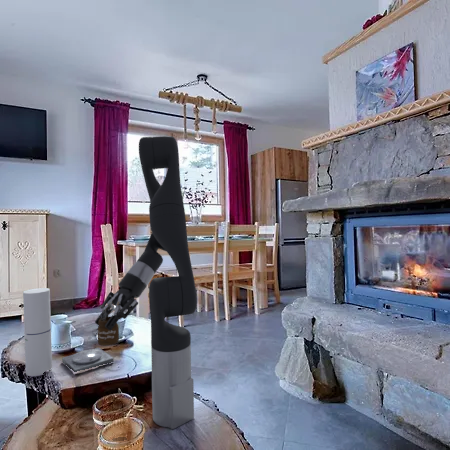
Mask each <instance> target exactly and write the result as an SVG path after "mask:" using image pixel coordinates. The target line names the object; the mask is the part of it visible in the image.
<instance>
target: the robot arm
mask: <svg viewBox="0 0 450 450" xmlns="http://www.w3.org/2000/svg"><path fill="white" fill-rule="evenodd" d="M179 155H180V154H179V147H178V142H177V140H176V138H175V137H174V136H172V135H153V136H143V137H141V138H140V139H139V142H138V156H139V162H140V166H141V170H142V174H143V180H144V183H145V187H146V190H147V194H148V198H149V201H150V203H149V207H148V211H149V215H148V216H149V228H150V231H151V234H150V236H149V238H148V241H147V244H146V245H145V249H143V250H144V251H143V253H142V254H141V255H140V256H139V258H138V259H137V260H136V262H135V263H134V264H133V265H132V266H131V267H130V268H129V269H128V271H127V272H126V273H125V275H124V276H123V278H122V279H121V280H120V281H119V283H118V287H119V289H118V290H117V291H116V292H115V293H114V292H112V291H110V292H108V294H107V296H106V298H105V299H104V300H103V303H102V304H101V305H102V307H101V306H100V310H101V313H99V314H98V315H99V316H98V317H97V318H96V319H95V321H94V323H95V324H96V325H97V326H99V324H98V322H99V319H101V316H102V318H104V316H106V317H109V315H110V314H111V313H113V314H112V315H111V316H110V317H111V318H110V319H109V320H108V322H107V323H106V325H105V327H106V328H107V329H108V330H112V328H113V327H114V325H115V324H116V323H117V324H118V322H119V320H122V319H124V320H125V319H126V318H128V317H129V315H130V314H131V313H132V312H133V310H134V309H135V308H136V307H137V306H138V305H139V301H138V300H136V299H139V298H140V297H141V295H142V294H143V292H144V291H145V290H146V288H147V287H148V286H149V288H148V301H149V313H150V314H149V315H150V338H151V340H150V344H151V346H150V347H151V351H150V352H151V395H152V396H151V397H152V398H151V401H152V404H151V405H152V420H153V422H154V423H155V424H156V425H158V426H160V427H163V428H169V429H171V430H175V429H177V428H178V427H180V426H182V425H184V424H185V423H188V422H190V421H191V420H193V419H194V418H195V399H194V398H195V395H194V391H195V390H194V386H195V385H194V379H193V377H192V347H191V346H192V344H191V343H192V341H191V340H192V339H191V337H192V336H191V332H190V331H189V330H188V329H187V328H185V327H183V326H179V325H175V324H173V323H169V322H168V321H167V320H166V318H171V317H172V318H174V317H180V316H188V315H193V314H194V313H195V311H196V310H197V305H198V304H197V303H198V301H197V300H198V298H197V288H196V284H195V283H196V282H195V277H194V272H193V266H192V263H191V257H190V251H189V250H190V249H189V242H188V241H189V239H188V230H187V220H186V219H187V218H186V211H185V210H186V209H185V205H184V197H183V191H182V185H181V184H182V183H181V175H180V174H181V170H180V169H181V168H180V156H179ZM159 169H167V171H166V174H165V177H164V180H163V182H162V183H161V184H160V182H159V181H158V180H157V177H156V176H155V173H154V170H159ZM158 250H161V251H164V252H166V253H167V254H168V255H169V257H170V258H171V260H172V262H173V263H174V267H175V268H176V272H177V275H176V276H175V275H174V276H173V275H172V276H161V277H155V278H153V277H154V276H155V274H156V273H157V271H158V269H160V267H161V265H162V264H163V261H164V258H163V257H162V255H161V254H160V253H159V252H158ZM118 302H119V303H118ZM117 303H118V305H117ZM103 306H104V307H105V308H104V307H103ZM102 310H103V311H104V312H103V311H102ZM105 310H106V311H105ZM105 312H106V313H105ZM103 315H104V316H103ZM99 317H100V318H99Z"/></svg>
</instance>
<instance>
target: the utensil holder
mask: <svg viewBox="0 0 450 450" xmlns="http://www.w3.org/2000/svg"><path fill="white" fill-rule="evenodd" d="M118 303H119V302H118ZM118 303H117V305H118ZM101 307H102V304H100V308H101ZM103 307H104V306H103ZM104 308H105V307H104ZM98 309H99V308H97V313H99V314H97V315H98V317H99V315H100V314H101V313H102V311H103V310H102V309H101V310H99V311H98ZM105 311H106V310H105ZM103 312H104V311H103ZM105 313H106V312H105ZM103 316H104V315H103ZM99 318H100V317H99ZM110 318H111V316H108V317H106V316H104V318H102V316H101V319H99V322H98V324H99V325H97V326H98V327H97V343H98V345H99V346H102V347H108V346H113V345H115V344H117V343H119V341H120V331H119V330H120V328H119V327H120V326H119V324H118V322H117V323H116V324H115V325H114V327H113V328H112V330H108V329H107V328H106V327H105V325H106V323H107V322H108V320H109V319H110Z"/></svg>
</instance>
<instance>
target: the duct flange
mask: <svg viewBox="0 0 450 450" xmlns="http://www.w3.org/2000/svg"><path fill="white" fill-rule="evenodd" d="M61 359H62V360H61V363H62V362H63V363H64V364H65V365H67V366H68V367H69V368H70V369H72V370H73V371H74V372H77V371H80V370H85V369H89V368H92V367H96V366H99V365H103V364H107V363H111V362H114V360H115V359H114V357H112V355H110V354H109V353H107V352H106V351H104V350H103V349H102V348H101V347H99V346H98V347H96V348H92V349H84V350H81V351H78V352H77V353H74V354H70V355H67V356H64V357H62V358H61ZM63 363H62V364H63ZM64 364H63V365H64ZM65 365H64V366H65Z"/></svg>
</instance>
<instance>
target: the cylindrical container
mask: <svg viewBox="0 0 450 450" xmlns="http://www.w3.org/2000/svg"><path fill="white" fill-rule="evenodd" d="M50 290H51V289H50V288H47V287H40V288H39V287H38V288H37V287H36V288H31V289H30V288H29V289H26V290H24V291H22V294H23V295H22V297H23V301H22V302H23V324H24V325H23V327H24V330H23V331H24V357H25V358H24V359H25V360H24V362H25V375H26V376H29V377H39V376H42V375H44V374H43V373H44V372H45V371H47V370H50V369H51V368H52V369H53V351H52V349H53V347H52V321H51V320H52V318H51V292H50Z"/></svg>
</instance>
